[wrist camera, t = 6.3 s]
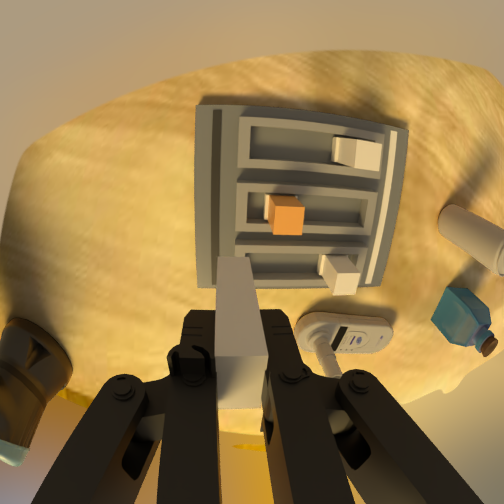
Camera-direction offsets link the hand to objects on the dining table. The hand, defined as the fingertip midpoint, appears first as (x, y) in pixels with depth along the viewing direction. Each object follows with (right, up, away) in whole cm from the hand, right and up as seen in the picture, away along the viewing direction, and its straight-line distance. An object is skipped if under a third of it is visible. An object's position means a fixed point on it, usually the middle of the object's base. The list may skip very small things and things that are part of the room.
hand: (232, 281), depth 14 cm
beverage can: (+27, +6, +17) cm, 32 cm away
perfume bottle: (+34, -7, +23) cm, 41 cm away
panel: (+6, +7, +15) cm, 17 cm away
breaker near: (+10, +11, +11) cm, 19 cm away
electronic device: (+14, -9, +23) cm, 28 cm away
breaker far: (+10, 0, +16) cm, 19 cm away
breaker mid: (+4, +6, +13) cm, 15 cm away
